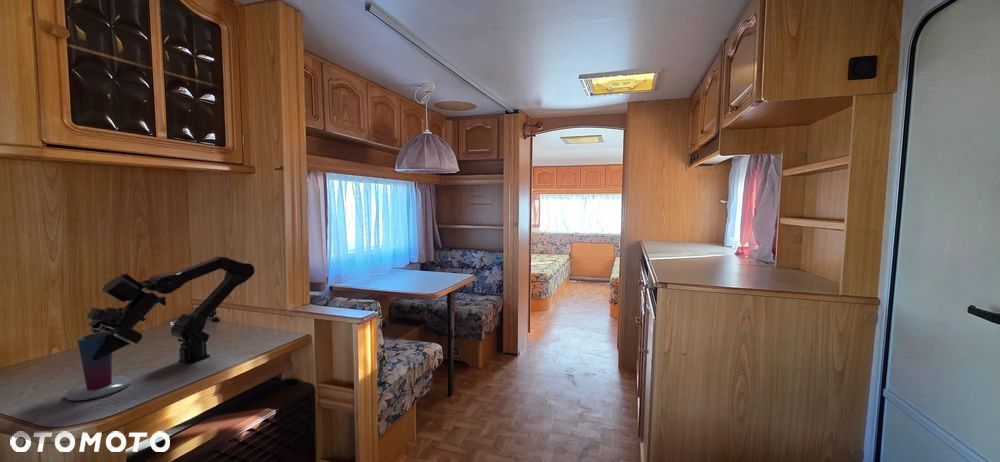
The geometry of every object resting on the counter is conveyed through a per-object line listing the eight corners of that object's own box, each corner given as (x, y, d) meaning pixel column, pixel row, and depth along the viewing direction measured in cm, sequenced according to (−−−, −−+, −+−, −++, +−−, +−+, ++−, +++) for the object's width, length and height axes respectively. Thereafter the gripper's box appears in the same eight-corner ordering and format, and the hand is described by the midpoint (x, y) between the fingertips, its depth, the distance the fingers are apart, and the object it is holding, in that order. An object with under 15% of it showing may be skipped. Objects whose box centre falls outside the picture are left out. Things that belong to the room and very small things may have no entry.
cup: (119, 378, 116) (115, 330, 114) (110, 388, 110) (106, 337, 108) (88, 383, 112) (83, 333, 111) (77, 393, 106) (72, 341, 105)
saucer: (115, 377, 119) (114, 373, 119) (141, 383, 115) (140, 379, 115) (55, 397, 107) (55, 393, 107) (82, 405, 103) (81, 401, 103)
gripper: (95, 292, 116) (43, 339, 107) (126, 299, 108) (72, 350, 99) (130, 311, 124) (84, 357, 115) (161, 319, 116) (115, 368, 107)
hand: (88, 357), depth 109 cm, fingers closed on cup, 6 cm apart
